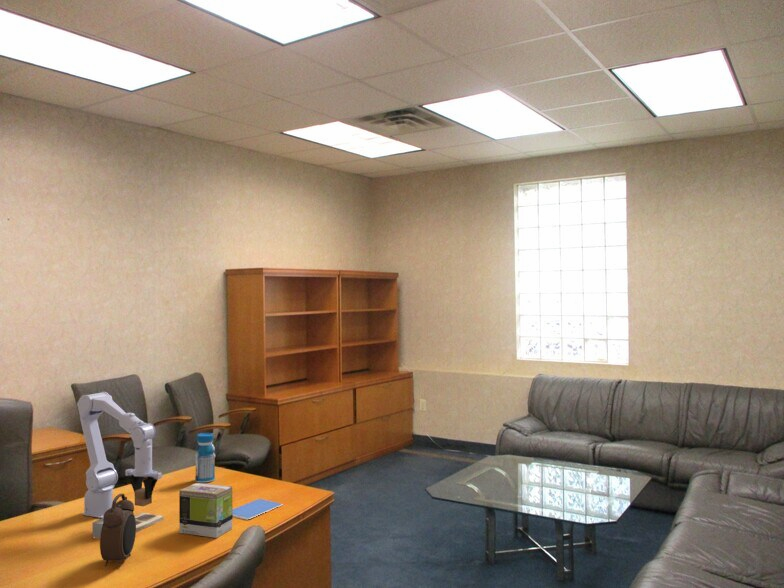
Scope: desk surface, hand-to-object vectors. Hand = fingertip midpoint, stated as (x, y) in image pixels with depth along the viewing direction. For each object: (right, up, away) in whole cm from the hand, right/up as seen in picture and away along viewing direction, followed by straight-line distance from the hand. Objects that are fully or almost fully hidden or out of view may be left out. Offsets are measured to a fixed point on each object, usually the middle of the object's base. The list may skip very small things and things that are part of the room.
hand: (143, 497), depth 221 cm
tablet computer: (+37, -9, +12) cm, 40 cm away
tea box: (+25, -9, -9) cm, 28 cm away
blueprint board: (-1, -8, -3) cm, 9 cm away
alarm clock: (+6, -9, -34) cm, 35 cm away
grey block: (-8, -9, -14) cm, 18 cm away
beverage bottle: (+7, -9, +49) cm, 50 cm away
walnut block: (0, -2, 0) cm, 2 cm away
